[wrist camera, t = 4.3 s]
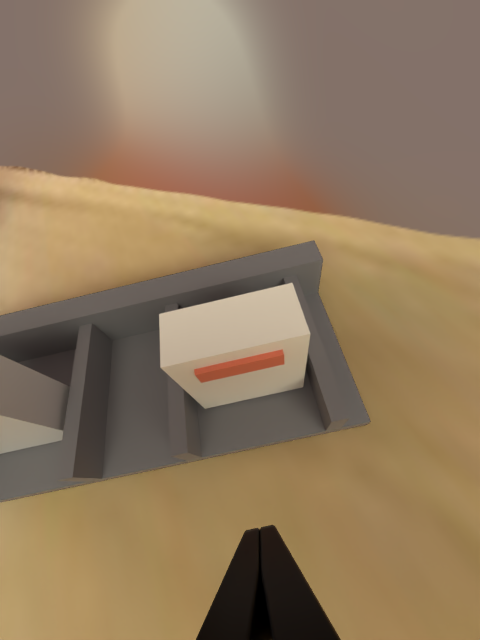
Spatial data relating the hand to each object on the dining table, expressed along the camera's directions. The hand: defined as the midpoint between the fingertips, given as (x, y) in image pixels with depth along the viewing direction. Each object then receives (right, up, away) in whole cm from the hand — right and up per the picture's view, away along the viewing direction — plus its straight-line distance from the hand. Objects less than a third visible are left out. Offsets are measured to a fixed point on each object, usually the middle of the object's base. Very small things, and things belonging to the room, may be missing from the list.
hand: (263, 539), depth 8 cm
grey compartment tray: (-8, +1, +15) cm, 17 cm away
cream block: (0, +2, +13) cm, 13 cm away
